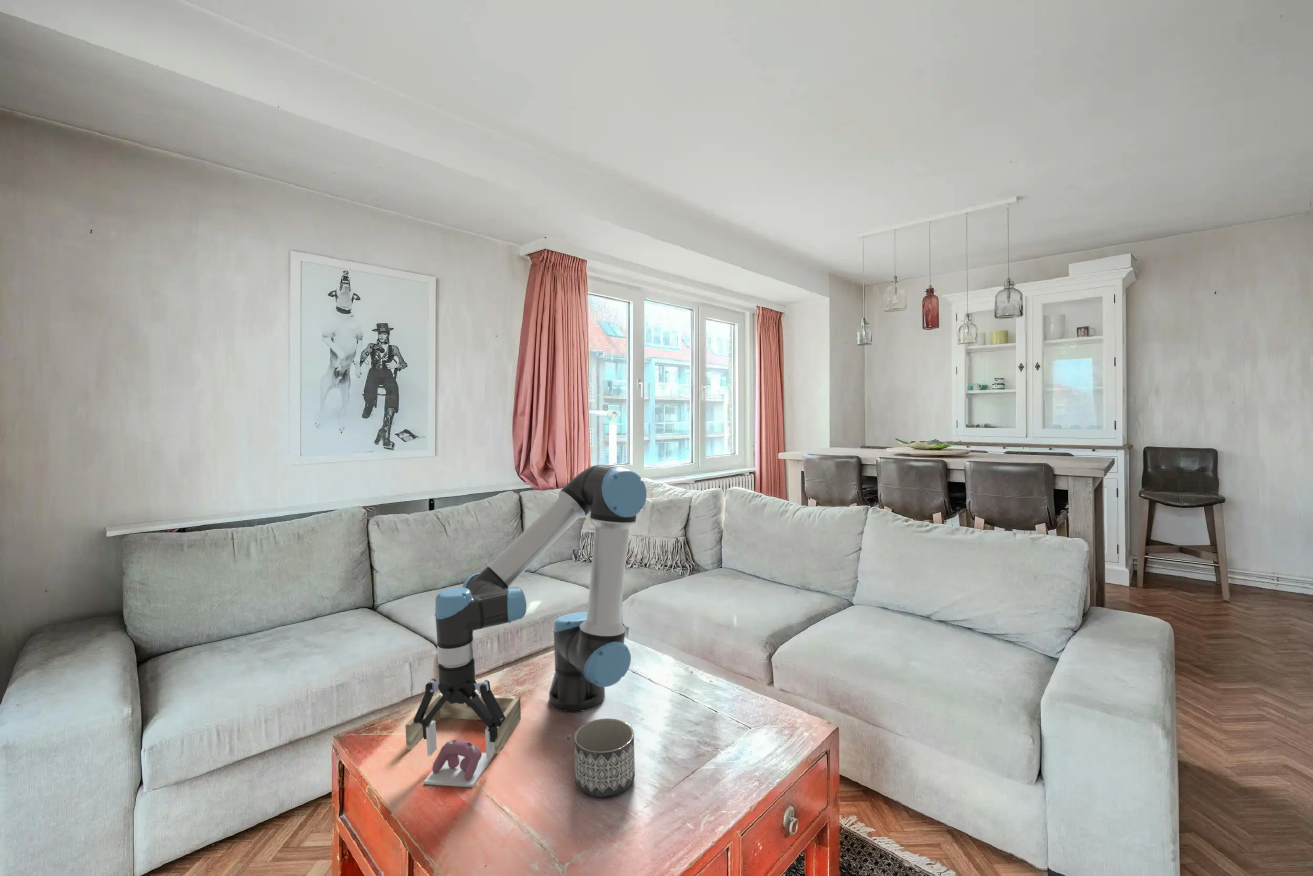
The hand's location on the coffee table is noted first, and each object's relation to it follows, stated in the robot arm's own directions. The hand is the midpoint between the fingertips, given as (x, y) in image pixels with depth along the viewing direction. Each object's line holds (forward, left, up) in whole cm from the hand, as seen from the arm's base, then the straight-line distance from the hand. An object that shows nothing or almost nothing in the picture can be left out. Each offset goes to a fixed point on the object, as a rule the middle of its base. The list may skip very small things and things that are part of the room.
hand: (461, 753), depth 128 cm
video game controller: (0, +2, -3) cm, 3 cm away
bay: (+5, -14, -3) cm, 15 cm away
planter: (-33, +1, -4) cm, 33 cm away
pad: (0, 0, -3) cm, 4 cm away
